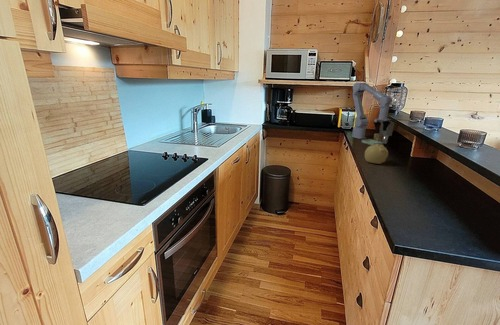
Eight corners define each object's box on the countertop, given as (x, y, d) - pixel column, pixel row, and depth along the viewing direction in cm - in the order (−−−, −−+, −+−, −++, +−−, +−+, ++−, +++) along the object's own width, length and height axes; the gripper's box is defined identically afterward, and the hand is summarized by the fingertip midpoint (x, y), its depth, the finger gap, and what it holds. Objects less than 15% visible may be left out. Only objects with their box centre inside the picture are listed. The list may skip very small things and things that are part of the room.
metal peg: (380, 143, 196) (382, 135, 194) (384, 142, 197) (385, 134, 195) (384, 144, 193) (386, 136, 191) (388, 143, 194) (389, 135, 192)
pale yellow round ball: (389, 166, 142) (392, 147, 139) (365, 164, 144) (368, 145, 141) (383, 160, 153) (386, 142, 149) (361, 158, 155) (364, 141, 152)
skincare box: (378, 134, 227) (381, 116, 222) (385, 134, 229) (388, 116, 225) (386, 136, 220) (389, 117, 215) (392, 136, 222) (396, 117, 217)
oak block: (373, 141, 202) (374, 133, 200) (377, 140, 203) (378, 133, 201) (377, 142, 198) (378, 134, 196) (381, 141, 200) (382, 134, 198)
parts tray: (361, 142, 197) (361, 140, 196) (370, 141, 200) (370, 139, 200) (374, 145, 186) (374, 143, 186) (383, 144, 190) (383, 142, 189)
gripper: (381, 114, 186) (377, 132, 190) (395, 113, 191) (391, 131, 195) (373, 112, 192) (370, 130, 196) (387, 112, 197) (384, 129, 202)
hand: (380, 131), depth 196 cm, fingers open, 7 cm apart
